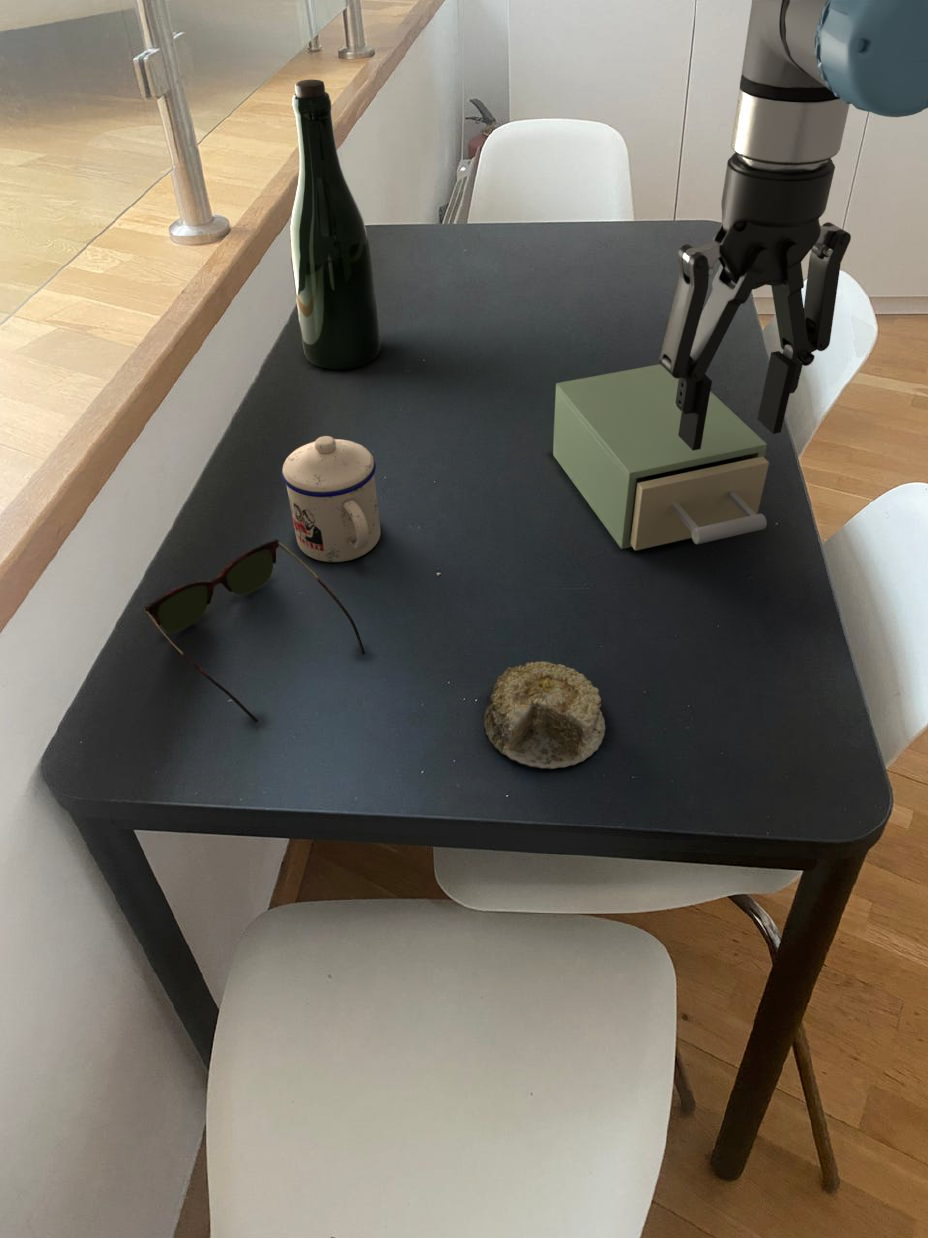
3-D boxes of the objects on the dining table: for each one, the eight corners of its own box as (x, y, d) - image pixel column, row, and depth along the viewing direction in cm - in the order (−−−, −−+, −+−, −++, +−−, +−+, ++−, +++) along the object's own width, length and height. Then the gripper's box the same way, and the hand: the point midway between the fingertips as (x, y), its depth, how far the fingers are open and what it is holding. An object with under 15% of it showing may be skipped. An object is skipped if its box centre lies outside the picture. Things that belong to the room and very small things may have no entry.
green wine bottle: (361, 377, 121) (329, 95, 99) (291, 365, 124) (244, 89, 101) (393, 342, 128) (370, 72, 106) (326, 332, 131) (290, 67, 109)
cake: (477, 691, 79) (476, 643, 76) (591, 682, 80) (595, 633, 77) (491, 777, 71) (491, 727, 68) (617, 765, 72) (623, 716, 69)
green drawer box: (750, 520, 95) (767, 444, 89) (621, 549, 92) (629, 472, 86) (668, 431, 109) (677, 360, 102) (552, 455, 106) (555, 382, 99)
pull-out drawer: (786, 556, 89) (803, 494, 84) (661, 586, 87) (671, 524, 82) (675, 438, 106) (683, 380, 101) (567, 459, 103) (570, 401, 98)
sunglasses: (283, 573, 91) (277, 534, 88) (378, 656, 84) (376, 618, 80) (153, 644, 84) (141, 605, 80) (244, 742, 77) (235, 704, 73)
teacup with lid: (282, 529, 96) (262, 432, 89) (360, 502, 100) (348, 406, 92) (327, 593, 89) (310, 492, 81) (411, 562, 92) (402, 462, 84)
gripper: (870, 126, 71) (804, 394, 86) (631, 157, 67) (607, 433, 82) (935, 152, 65) (852, 434, 81) (680, 189, 61) (644, 477, 77)
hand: (729, 433), depth 82 cm, fingers open, 7 cm apart
